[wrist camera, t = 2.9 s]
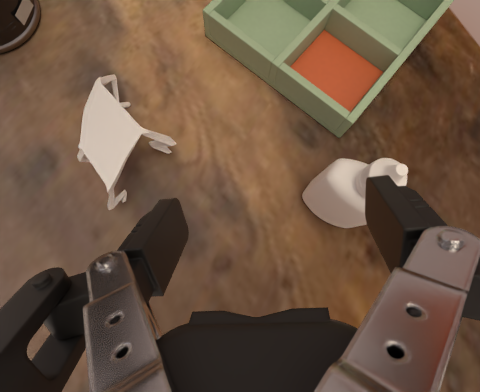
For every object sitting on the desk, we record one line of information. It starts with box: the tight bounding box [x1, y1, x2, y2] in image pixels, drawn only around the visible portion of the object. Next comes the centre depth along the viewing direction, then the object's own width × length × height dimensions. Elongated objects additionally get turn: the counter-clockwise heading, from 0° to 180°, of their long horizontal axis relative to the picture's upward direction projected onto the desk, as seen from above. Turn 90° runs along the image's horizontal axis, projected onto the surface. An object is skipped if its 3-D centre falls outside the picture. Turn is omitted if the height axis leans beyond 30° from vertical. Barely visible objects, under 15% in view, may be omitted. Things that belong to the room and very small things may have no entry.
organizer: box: [203, 0, 454, 138], centre depth 30 cm, size 18×18×3 cm
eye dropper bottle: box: [302, 158, 408, 228], centre depth 22 cm, size 4×6×12 cm
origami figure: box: [77, 74, 177, 210], centre depth 26 cm, size 12×8×5 cm
